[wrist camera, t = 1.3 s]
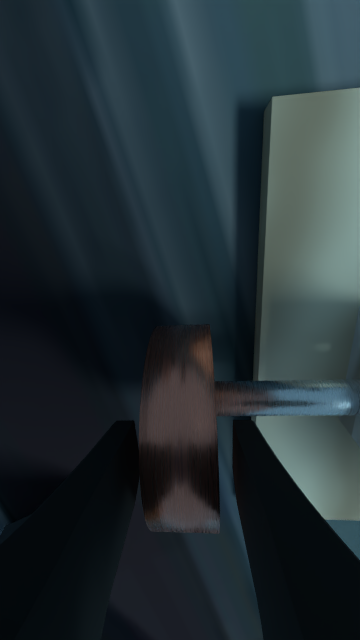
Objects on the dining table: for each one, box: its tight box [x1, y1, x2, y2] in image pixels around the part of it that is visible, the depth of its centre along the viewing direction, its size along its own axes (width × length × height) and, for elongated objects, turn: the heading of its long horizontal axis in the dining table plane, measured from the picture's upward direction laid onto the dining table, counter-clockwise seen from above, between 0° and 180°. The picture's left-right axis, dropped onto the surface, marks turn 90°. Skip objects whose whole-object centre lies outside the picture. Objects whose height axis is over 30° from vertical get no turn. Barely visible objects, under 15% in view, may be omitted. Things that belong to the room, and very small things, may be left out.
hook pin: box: [139, 324, 360, 533], centre depth 9 cm, size 12×7×7 cm, turn 94°
